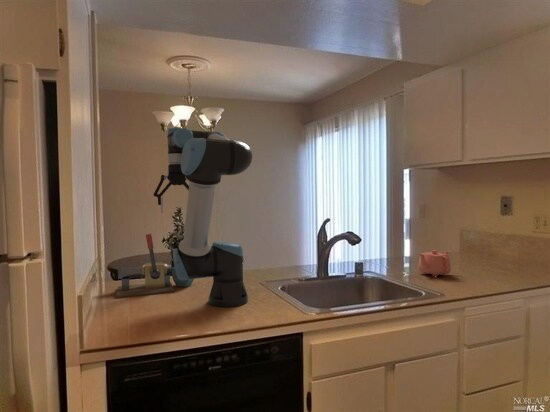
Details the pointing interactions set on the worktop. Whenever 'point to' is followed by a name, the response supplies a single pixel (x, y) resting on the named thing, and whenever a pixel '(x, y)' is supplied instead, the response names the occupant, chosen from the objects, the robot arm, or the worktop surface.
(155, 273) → the lever
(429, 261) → the teapot
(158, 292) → the mount board
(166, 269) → the valve
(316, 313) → the worktop surface
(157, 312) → the worktop surface
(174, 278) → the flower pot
